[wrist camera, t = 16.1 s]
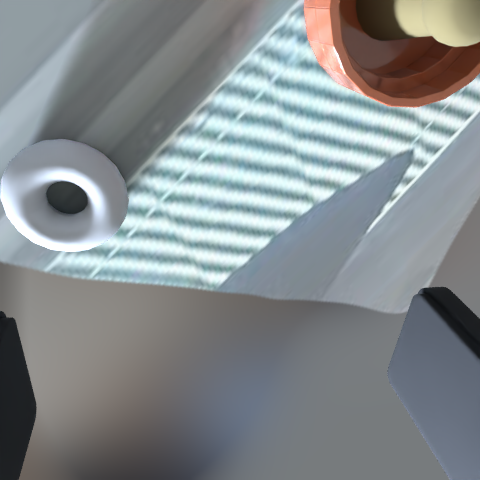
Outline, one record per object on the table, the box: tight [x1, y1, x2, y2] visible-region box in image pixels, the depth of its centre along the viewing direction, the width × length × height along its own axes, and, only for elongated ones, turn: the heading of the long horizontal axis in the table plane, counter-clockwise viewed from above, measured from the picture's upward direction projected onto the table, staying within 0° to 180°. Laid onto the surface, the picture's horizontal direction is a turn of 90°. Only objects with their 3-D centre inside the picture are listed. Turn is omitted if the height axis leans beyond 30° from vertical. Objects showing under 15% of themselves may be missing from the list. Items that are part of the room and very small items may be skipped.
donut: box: [1, 139, 129, 252], centre depth 35 cm, size 10×4×10 cm
